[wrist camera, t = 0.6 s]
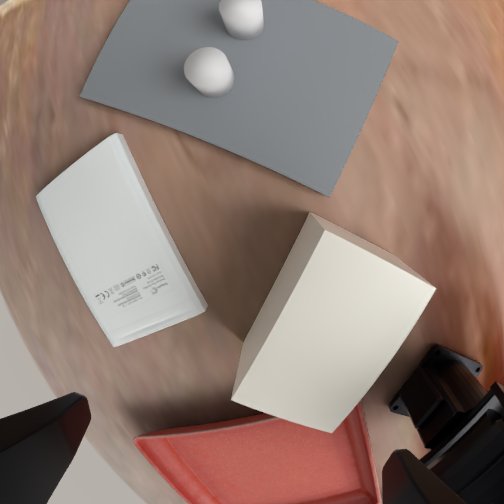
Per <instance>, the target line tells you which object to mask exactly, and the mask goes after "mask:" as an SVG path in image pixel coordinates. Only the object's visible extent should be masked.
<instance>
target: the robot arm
mask: <svg viewBox="0 0 504 504" xmlns="http://www.w3.org/2000/svg"><path fill="white" fill-rule="evenodd" d="M437 350H438V352H437V353H435V352H436V351H437ZM481 370H482V365H481V364H480V363H479V362H477V361H475V360H473V359H470V358H468V357H466V356H464V355H461V354H459V353H457V352H455V351H452V350H450V349H448V348H446V347H443V346H441V345H438V344H437V345H435V346H433V347H432V348H431V350H430V351H429V352H428V354H427V355H426V357H425V358H424V360H423V361H422V362H421V364H420V365H419V367H418V368H417V369H416V371H415V372H414V373H413V375H412V376H411V377H410V379H409V380H408V381H407V383H406V384H405V385H404V386H403V388H402V389H401V390H400V391H399V393H398V394H397V395H396V396H395V398H394V399H393V400H392V401H391V402H390V404H389V409H390V411H391V412H394V413H397V414H401V415H405V416H409V417H410V418H411V420H412V423H413V425H414V427H415V428H416V429H417V431H418V433H419V435H420V438H421V440H422V442H423V445H424V447H425V448H427V449H428V451H429V452H428V453H427V454H426V455H424V456H423V457H422V458H421V459H420V460H419V459H418V458H417V457H415V456H414V455H413V454H412V453H411V452H410V451H409V450H407V449H400V450H395V451H393V453H392V454H391V456H390V457H389V459H388V460H387V462H386V463H385V465H384V467H383V470H382V489H383V504H504V386H503V385H501V384H500V383H498V382H497V381H495V382H494V384H493V385H492V386H491V387H490V388H491V389H490V390H489V391H488V393H487V391H486V390H485V389H484V388H483V386H482V385H481V384H480V383H479V381H478V380H477V379H476V377H477V376H478V375H479V373H480V372H481ZM394 406H395V407H394ZM90 421H91V413H90V409H89V404H88V400H87V398H86V397H85V396H84V395H81V394H79V393H76V392H73V393H70V394H67V395H65V396H62V397H60V398H57V399H54V400H52V401H49V402H47V403H44V404H42V405H38V406H36V407H33V408H30V409H28V410H25V411H22V412H19V413H16V414H13V415H10V416H7V417H4V418H1V419H0V504H47V502H48V500H49V498H50V497H51V495H52V493H53V492H54V490H55V488H56V487H57V485H58V483H59V481H60V480H61V478H62V477H63V475H64V473H65V472H66V470H67V468H68V467H69V465H70V463H71V461H72V460H73V458H74V456H75V454H76V452H77V449H78V447H79V445H80V443H81V441H82V438H83V436H84V434H85V432H86V430H87V428H88V425H89V423H90Z"/></svg>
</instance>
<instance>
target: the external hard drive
mask: <svg viewBox="0 0 504 504" xmlns="http://www.w3.org/2000/svg"><path fill="white" fill-rule="evenodd" d="M36 199H37V202H38V204H39V207H40V209H41V212H42V214H43V216H44V219H45V221H46V224H47V226H48V228H49V230H50V233H51V235H52V237H53V239H54V241H55V244H56V246H57V248H58V250H59V252H60V254H61V256H62V258H63V260H64V262H65V264H66V266H67V268H68V270H69V272H70V274H71V276H72V278H73V280H74V282H75V283H76V285H77V287H78V289H79V291H80V293H81V294H82V296H83V298H84V300H85V302H86V303H87V305H88V307H89V308H90V310H91V312H92V314H93V315H94V317H95V318H96V320H97V322H98V323H99V325H100V327H101V328H102V330H103V331H104V333H105V335H106V336H107V338H108V339H109V341H110V343H111V344H112V346H113V347H117V346H120V345H122V344H125V343H128V342H130V341H133V340H135V339H138V338H141V337H143V336H146V335H148V334H151V333H154V332H156V331H159V330H162V329H164V328H167V327H169V326H172V325H175V324H177V323H180V322H182V321H185V320H187V319H190V318H192V317H195V316H197V315H199V314H201V313H203V312H205V311H206V309H207V307H208V304H207V302H206V301H205V299H204V297H203V295H202V293H201V292H200V290H199V288H198V286H197V284H196V283H195V281H194V279H193V277H192V275H191V273H190V271H189V270H188V268H187V266H186V264H185V262H184V260H183V258H182V256H181V254H180V252H179V250H178V249H177V247H176V245H175V243H174V241H173V239H172V237H171V235H170V233H169V231H168V229H167V227H166V225H165V223H164V221H163V219H162V217H161V215H160V213H159V211H158V209H157V207H156V205H155V203H154V201H153V199H152V197H151V195H150V192H149V190H148V188H147V186H146V184H145V182H144V180H143V178H142V175H141V173H140V171H139V169H138V167H137V165H136V163H135V160H134V158H133V156H132V154H131V152H130V149H129V147H128V145H127V143H126V140H125V138H124V136H123V134H120V133H114V134H112V135H111V136H109V137H107V138H106V139H105V140H103V141H102V142H101V143H99V144H98V145H96V146H95V147H94V148H92V149H91V150H90V151H88V152H87V153H86V154H85V155H83V156H82V157H81V158H79V159H78V160H77V161H76V162H74V163H73V164H72V165H71V166H69V167H68V168H67V169H66V170H65V171H63V172H62V173H61V174H60V175H59V176H57V177H56V178H55V179H54V180H53V181H51V182H50V183H49V184H48V185H47V186H46V187H45V188H44V189H43V190H41V191H40V192H39V193H38V194H37V195H36Z"/></svg>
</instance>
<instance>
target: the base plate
mask: <svg viewBox="0 0 504 504" xmlns="http://www.w3.org/2000/svg"><path fill="white" fill-rule="evenodd" d="M398 42H399V41H397V40H395V39H394V38H392V37H390V36H388V35H387V34H385V33H383V32H381V31H379V30H377V29H375V28H373V27H371V26H370V25H368V24H366V23H364V22H362V21H359V20H357V19H355V18H353V17H351V16H349V15H347V14H345V13H342V12H340V11H338V10H335V9H333V8H331V7H328V6H326V5H323V4H321V3H318V2H316V1H313V0H130V1H129V3H128V4H127V6H126V8H125V9H124V11H123V13H122V14H121V16H120V17H119V19H118V21H117V23H116V24H115V26H114V28H113V30H112V31H111V33H110V35H109V37H108V39H107V40H106V42H105V44H104V46H103V48H102V50H101V52H100V54H99V56H98V58H97V60H96V62H95V64H94V66H93V68H92V70H91V72H90V74H89V77H88V79H87V81H86V83H85V86H84V88H83V90H82V93H81V95H80V97H82V98H85V99H88V100H91V101H95V102H98V103H101V104H104V105H107V106H110V107H113V108H116V109H119V110H122V111H125V112H128V113H131V114H134V115H137V116H140V117H143V118H146V119H148V120H151V121H154V122H157V123H159V124H162V125H165V126H168V127H170V128H173V129H176V130H178V131H181V132H183V133H186V134H189V135H191V136H194V137H196V138H199V139H201V140H204V141H206V142H209V143H211V144H213V145H216V146H218V147H221V148H223V149H225V150H228V151H230V152H233V153H235V154H237V155H240V156H242V157H244V158H246V159H249V160H251V161H253V162H256V163H258V164H260V165H262V166H264V167H267V168H269V169H271V170H273V171H275V172H278V173H280V174H282V175H284V176H286V177H288V178H290V179H292V180H295V181H297V182H299V183H301V184H303V185H305V186H307V187H309V188H311V189H313V190H315V191H317V192H319V193H321V194H323V195H325V196H327V197H329V198H330V196H331V194H332V192H333V189H334V187H335V185H336V183H337V181H338V179H339V177H340V175H341V173H342V170H343V168H344V166H345V164H346V162H347V160H348V158H349V155H350V153H351V151H352V149H353V147H354V144H355V142H356V140H357V138H358V136H359V133H360V131H361V129H362V127H363V124H364V122H365V120H366V118H367V115H368V113H369V111H370V109H371V106H372V104H373V102H374V99H375V97H376V95H377V92H378V90H379V88H380V85H381V83H382V81H383V78H384V76H385V73H386V71H387V69H388V66H389V64H390V61H391V59H392V56H393V54H394V52H395V49H396V47H397V44H398Z"/></svg>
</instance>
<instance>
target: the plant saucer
mask: <svg viewBox="0 0 504 504" xmlns="http://www.w3.org/2000/svg"><path fill="white" fill-rule="evenodd" d="M133 442H134V444H135V446H136V447H137V448H138V449H139V450H140V452H141V453H142V454H143V455H144V456H145V457H146V459H147V460H148V461H149V462H150V464H151V465H152V466H153V467H154V468H155V469H156V470H157V471H158V473H159V474H160V475H161V476H162V477H163V478H164V479H165V480H166V481H167V482H168V483H169V484H170V486H171V487H172V488H173V489H175V490H176V492H177V493H178V494H179V495H180V496H181V497H182V498H183V499H184V500H185V501H186V502H188V504H380V503H381V497H380V490H379V485H378V478H377V474H376V468H375V464H374V457H373V453H372V448H371V443H370V438H369V434H368V429H367V423H366V420H365V414H364V411H363V406H362V402H361V400H360V401H359V402H358V404H357V405H356V406H355V407H354V408H353V410H352V411H351V412H350V413H349V414H348V416H347V417H346V418H345V419H344V420H343V421H342V422H341V424H340V425H339V426H338V427H337V428H336V429H335V430H334V431H333V433H329V432H325V431H321V430H318V429H314V428H311V427H307V426H304V425H301V424H297V423H294V422H291V421H288V420H285V419H282V418H279V417H276V416H273V415H270V414H267V413H263V414H258V415H253V416H248V417H243V418H238V419H233V420H227V421H221V422H215V423H209V424H202V425H194V426H187V427H178V428H169V429H163V430H158V431H154V432H150V433H146V434H142V435H139V436H137V437H134V439H133Z"/></svg>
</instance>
